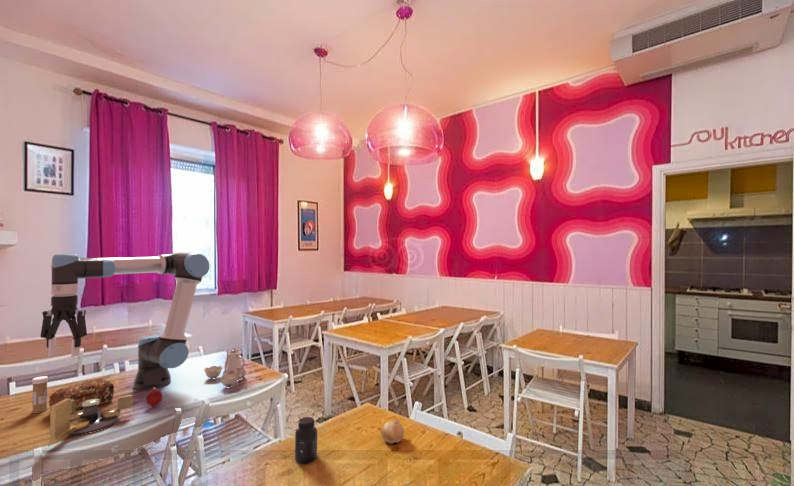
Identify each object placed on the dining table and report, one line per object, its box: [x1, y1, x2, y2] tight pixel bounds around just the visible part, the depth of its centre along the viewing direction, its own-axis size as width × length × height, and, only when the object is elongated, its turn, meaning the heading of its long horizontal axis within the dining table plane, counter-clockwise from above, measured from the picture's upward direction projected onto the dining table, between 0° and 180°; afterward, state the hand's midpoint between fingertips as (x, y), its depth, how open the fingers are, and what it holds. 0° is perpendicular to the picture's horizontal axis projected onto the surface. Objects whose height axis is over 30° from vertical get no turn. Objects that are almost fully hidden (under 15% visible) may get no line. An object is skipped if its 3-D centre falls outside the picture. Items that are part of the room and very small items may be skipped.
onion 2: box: [380, 418, 405, 445], centre depth 131 cm, size 8×8×7 cm
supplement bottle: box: [294, 416, 318, 465], centre depth 120 cm, size 7×7×12 cm
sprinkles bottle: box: [31, 375, 49, 414], centre depth 152 cm, size 5×5×14 cm
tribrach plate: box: [68, 394, 133, 437], centre depth 142 cm, size 22×18×8 cm
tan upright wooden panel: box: [48, 398, 89, 445], centre depth 131 cm, size 14×6×12 cm, turn 5°
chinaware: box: [203, 346, 247, 388], centre depth 187 cm, size 28×17×17 cm, turn 55°
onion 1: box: [145, 387, 163, 408], centre depth 157 cm, size 6×6×8 cm
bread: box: [48, 378, 115, 413], centre depth 156 cm, size 19×11×10 cm, turn 156°
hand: (63, 355), depth 143 cm, fingers open, 7 cm apart
